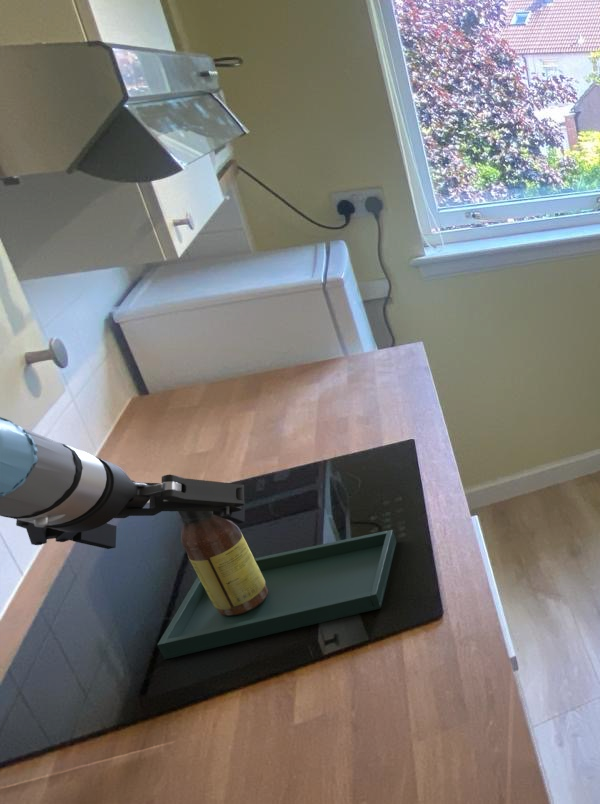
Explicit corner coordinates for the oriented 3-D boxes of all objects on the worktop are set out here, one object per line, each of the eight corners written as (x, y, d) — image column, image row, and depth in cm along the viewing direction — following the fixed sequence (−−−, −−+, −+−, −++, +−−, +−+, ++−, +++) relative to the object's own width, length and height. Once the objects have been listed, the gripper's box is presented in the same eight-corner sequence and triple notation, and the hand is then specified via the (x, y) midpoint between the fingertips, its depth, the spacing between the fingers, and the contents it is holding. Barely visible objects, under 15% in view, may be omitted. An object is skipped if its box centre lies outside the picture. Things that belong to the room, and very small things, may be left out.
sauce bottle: (275, 583, 108) (228, 469, 100) (262, 612, 103) (211, 494, 94) (224, 594, 106) (171, 479, 98) (207, 624, 101) (150, 505, 93)
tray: (164, 659, 96) (156, 645, 95) (208, 582, 109) (201, 569, 108) (380, 608, 103) (376, 594, 102) (396, 542, 117) (392, 529, 116)
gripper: (-105, 556, 68) (52, 579, 87) (211, 498, 76) (292, 531, 95) (-94, 479, 71) (57, 518, 90) (211, 429, 78) (290, 475, 97)
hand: (178, 524), depth 92 cm, fingers open, 13 cm apart
